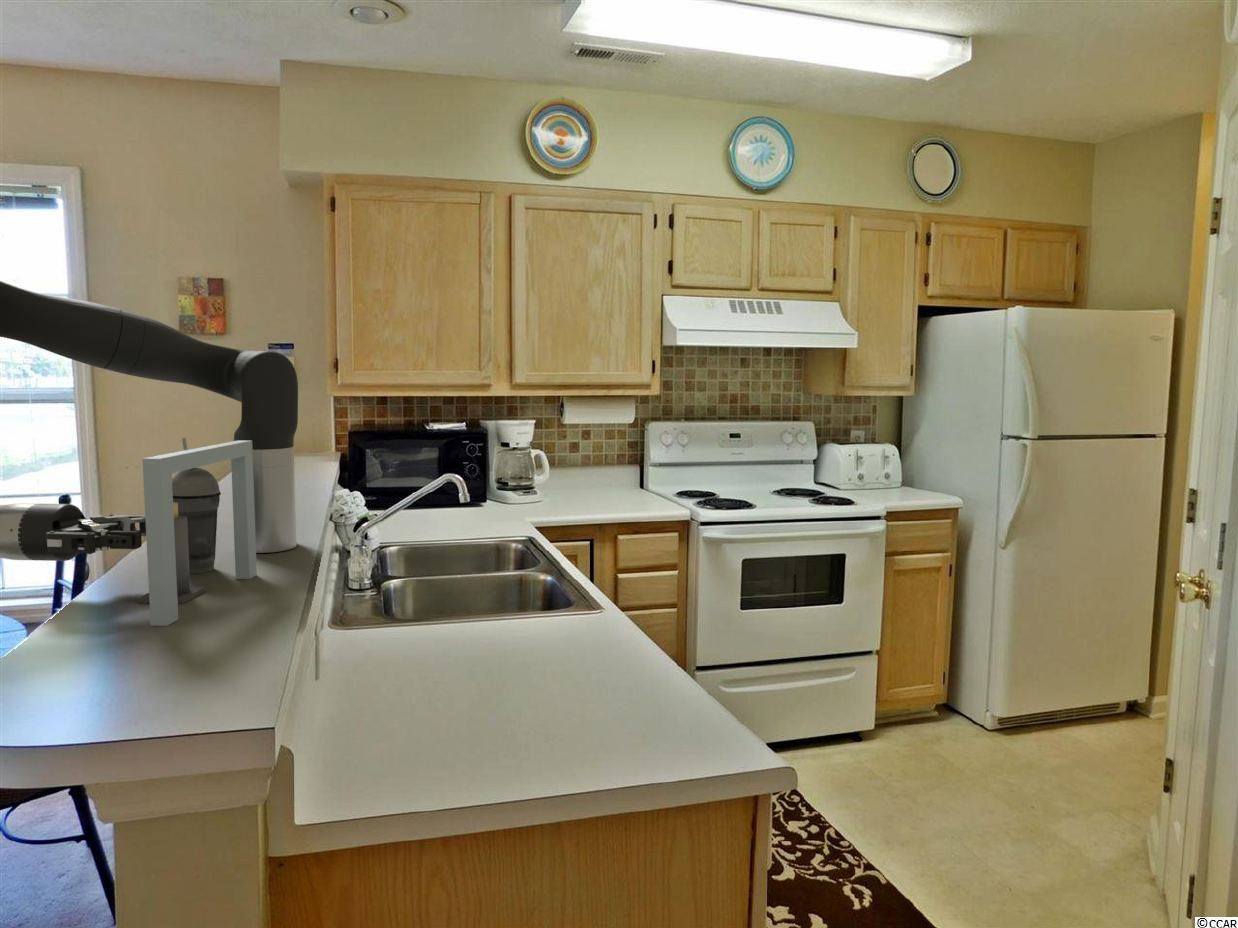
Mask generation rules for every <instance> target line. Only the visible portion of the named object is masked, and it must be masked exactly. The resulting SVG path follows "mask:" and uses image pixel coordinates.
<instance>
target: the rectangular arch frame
mask: <svg viewBox="0 0 1238 928" xmlns="http://www.w3.org/2000/svg"><path fill="white" fill-rule="evenodd" d="M229 460H230V463H231V489H232V490H231V491H232V494H231V495H232V513H233V514H232V515H233V516H232V517H233V540H234V541H233V542H234V543H233V544H234V570H235V573H234V574H235V580H251V579H252V578H254V577H256V576H257V571H258V569H257V553H256V539H255V510H254V482H253V453H252V441H247V440H238V441H234V440H233V441H232V440H231V441H227V442H222V443H218V444H212V445H207V446H202V447H196V448H191V449H188V450H185V451H184V450H180V451H175V452H170V453H165V454H164V453H163V454H159V455H155V456H147V457H143V458H142V475H143V476H142V479H143V494H144V496H143V497H144V498H143V501H144V515H145V521H146V539H145V540H146V557H147V558H146V559H147V571H148V572H147V575H148V576H147V577H148V593H149V601H150V603H149V615H150V620H149V621H150V627H151V626H153V627H154V626H158V627H160V626H163V627H167V626H170V625H171V624H173V623H175V622H177V621H178V620H179V605H178V604H179V603H178V601H177V579H176V557H175V536H174V514H173V492H172V479H173V476H172V475H173V474H174V473H178V472H180V471H183V470H187V469H192V468H201V467H204V466H208V465H213V464H217V463H221V462H225V461H229Z"/></svg>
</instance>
